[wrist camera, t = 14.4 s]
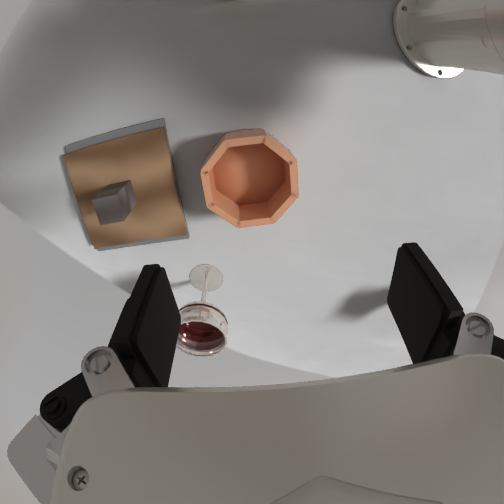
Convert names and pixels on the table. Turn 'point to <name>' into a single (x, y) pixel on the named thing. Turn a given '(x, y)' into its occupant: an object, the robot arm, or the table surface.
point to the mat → (121, 133)
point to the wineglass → (203, 317)
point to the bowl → (250, 178)
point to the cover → (127, 189)
